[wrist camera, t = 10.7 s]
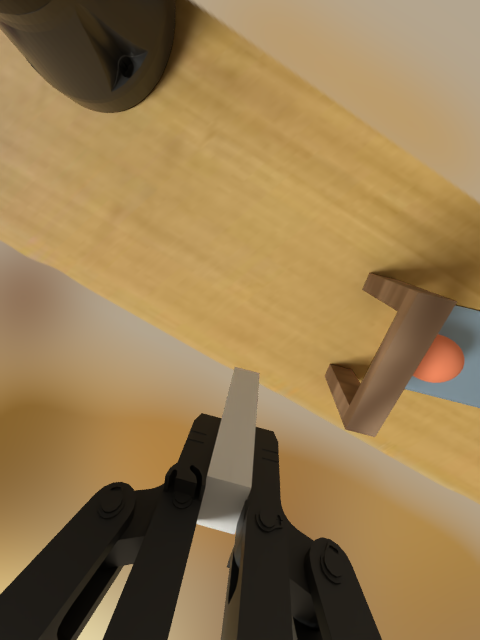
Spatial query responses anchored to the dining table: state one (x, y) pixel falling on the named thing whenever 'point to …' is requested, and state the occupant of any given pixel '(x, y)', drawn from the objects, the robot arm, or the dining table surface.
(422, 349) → the bridge
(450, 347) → the ball
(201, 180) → the dining table surface
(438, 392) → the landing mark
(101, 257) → the dining table surface
